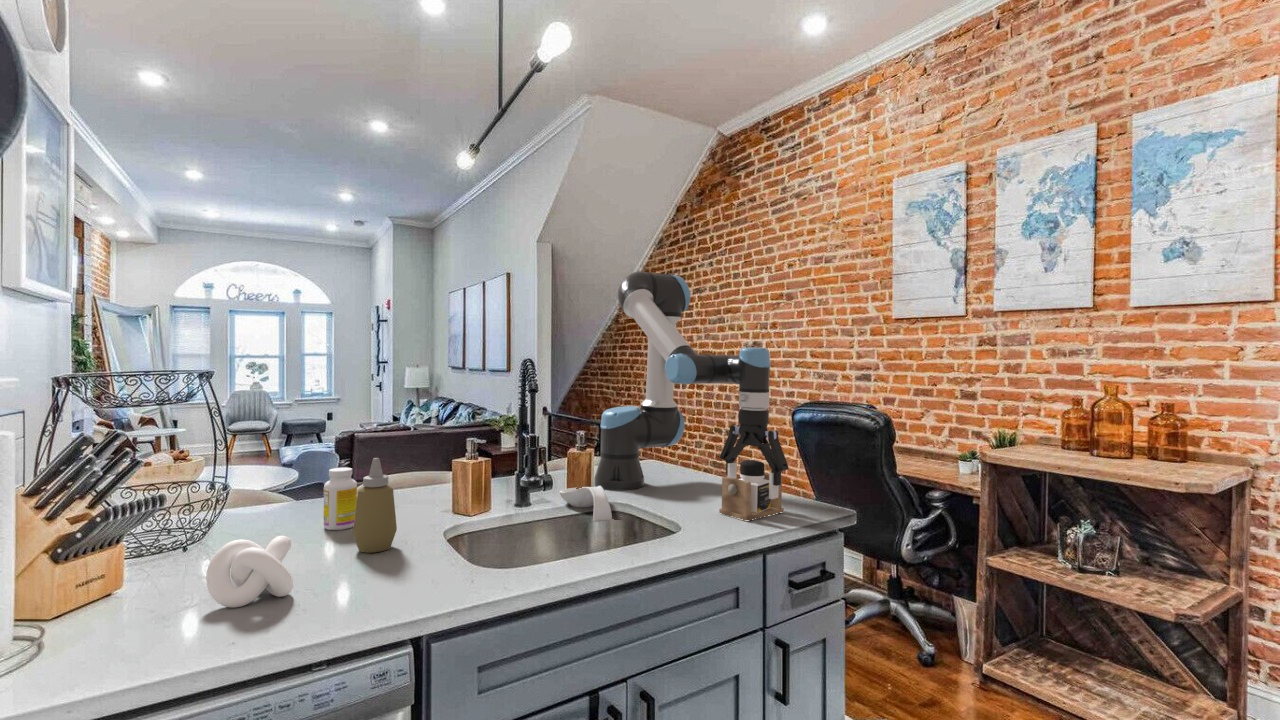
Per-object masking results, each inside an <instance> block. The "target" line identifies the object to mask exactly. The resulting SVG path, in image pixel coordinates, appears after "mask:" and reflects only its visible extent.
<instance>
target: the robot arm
mask: <svg viewBox="0 0 1280 720" xmlns="http://www.w3.org/2000/svg"><path fill="white" fill-rule="evenodd" d="M617 300H618V303H619V305H620V306H619V307H621V309H622V311H623V313H624V314H625V315H626V316H627V317H629V318H633V320H634V321H635V322H636V323H637V324H638V327H639V328H640V329H641V330H642V332H643V333H644V334H645V335H646V337H647V357H646V359H647V363H646V381H645V382H646V383H645V385H646V386H645V398H644V399H643V401H641V402H640V407H639V406H636V405H626V406H617V407H611V408H608V409H606V410H604V411H602V414H601V421H600V460H599V463H598V465H597V468H596V469H597V470H596V473H595V475H594V479H593V480H594V481H593V483H594V487H597V486H601V487H602V488H603V489H605V490H611V491H612V490H617V491H624V490H625V491H626V490H628V491H629V490H635V489H640V488H642V487H644V486H645V475H644V473H643V469H642V466H641V463H640V449H647V448H648V449H649V448H666V447H669V446H670V447H671V446H674V445H676V444H678V442H680V440H681V439H682V437H683V434H684V432H685V424H686V423H685V419H684V417H683V416H684V415H683V413H682V412H681V411H680V410H679V409H678V404H677V402H675V400H674V389H675V388H674V386H675V385H674V384H679V385H695V384H697V385H701V384H702V385H704V384H707V385H709V384H710V385H711V384H729V385H730V384H732V385H733V384H735V385H738V386H739V387H738V406H739V407H738V408H740V409H739V410H738V417H737V418H738V421H737V422H738V424H736V425H735V424H734V425H729V432H728V436H727V439H726V440H725V443H724V446H723V448H722V450H721V452H720V455H719V459H721V460H723V461H724V462H725V473H726V474H725V475H726V476H727V477H730V478H735V479H738V478H737V476H738V463H737V461H736V460H737V458H738V457H739V456H740V454H741V453H742V451H743V450H744V449H745V447H746V446H752V447H754V448H757V449H758V450H760V452H761V454H762V456H763V457H764V458H765V461H766V462H767V464H768V466H769V468H770V469H771V471H769V473H768V474H769V499H775V498H778V493H779V485H780V484H781V476H782V472H784V471H788V470H789V464H788V462H787V458H786V456H785V454H784V450H783V448H782V445H781V443H780V439H779V438H780V437H779V432H778V430H777V429H776V430H769V429H768V425H769V424H770V423H769V422H770V414H769V413H770V411H769V410H768V409H769V408H770V373H771V372H770V370H771V358H770V357H771V356H770V355H771V354H770V351H769V349H768V348H766V347H741V348H740V349H739V355H737V354H736V355H734V354H700V353H699V354H698V353H697V352H696V351H695V350H694V349H693V348H692V347H691V345H690V343H688V341H687V340H686V339H685V338H684V337H683V335H682V334H681V333H680V331H679V330H678V329H677V323H678V322H679V321H680V320H681V319H682V318H683V317H682V313H684V312H685V311H687V310H688V308H689V307H688V306H690V302H691V290H690V286H689V285H688V283H687V282H686V280H685V279H684V278H683V277H681V276H679V275H675V274H669V273H659V272H658V273H657V272H648V271H634V272H632V273H630V274H628V275H627V276H625V277H624V278H623V280H622V281H620V284H619V286H618V290H617Z"/></svg>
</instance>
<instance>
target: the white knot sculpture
mask: <svg viewBox="0 0 1280 720" xmlns="http://www.w3.org/2000/svg"><path fill="white" fill-rule="evenodd" d="M291 546H292V540H291V538H289V537H288V536H285V535H277V536H276V537H274V538H273V539H271V540H270V542H269V544H268V545H267V546H266V547H265V548H263V547H262V546H261V545H259V544H257V543H256V542H254V541H252V540H248V539H235V540H232V541H229V542H227V543H225V544H224V545H222V546H221V547H220V548H218V550H216V552H215V553H214V555H213V556H212V557H211V559H210V561H209V564H208V566H207V568H206V569H207V570H206V577H205V581H206V588H207V591H208V593H209V594H210V596H211V598H212V599H213V601H215V602H216V603H217V604H219V605H221V606H223V607H226V608H230V609H231V608H241V607H244V606H246V605H248V604H250V603H252V602H253V601H255V600H256V599H257V598H258V597H259V596H260V595H261V594H262V593H263V591H264V590H265V589H266V590H267V592H269V594H271V596H274V597H277V598H281V597H287V595H289V594H291V592H292V590H293V588H294V578H293V577H292V575H291V573H290V571H289V570H288V569H287V567H286V566H285V565H284V564H283V561H284V559H285V558H286V556H287V554H288V553H289V551H290V549H291Z"/></svg>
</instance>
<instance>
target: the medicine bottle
mask: <svg viewBox="0 0 1280 720" xmlns="http://www.w3.org/2000/svg"><path fill="white" fill-rule="evenodd" d="M739 464H740V465H739V466H740V467H739V468H740V470H739V472H740V473H739V477H740V478H738V479H739V480H743V481H748V482H751V499H750V512H753V513H760V512H762V511H764V510H767V509H769V508H770V507H771V499H769V480H765V479H763V478H764V473H766V472H765V468H766V467H765V466H766V465H765V463H764V462H763V461H760V460H755V459H745V460H743V461H741V462H740V463H739Z"/></svg>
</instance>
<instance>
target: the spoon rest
mask: <svg viewBox="0 0 1280 720" xmlns="http://www.w3.org/2000/svg"><path fill="white" fill-rule="evenodd" d="M576 488H577V487H570V488H565V489H564V488H563V489H561V490H559V495H560V497H561V498H562V500H564V502H566V503H567V504H569V505H570V506H571V507H575V508H591V507H593V510H592V511H593V514H592V521H593V522H594V523H597V522H608V521H612V520H613V516H612V515H613V514H612V510H611V509H612V508H611V505H610V502H609V500H608V496H607V495H606V492H605V491H606V489H604V488H602V487H601V486H582V488H579V489H576Z"/></svg>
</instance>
